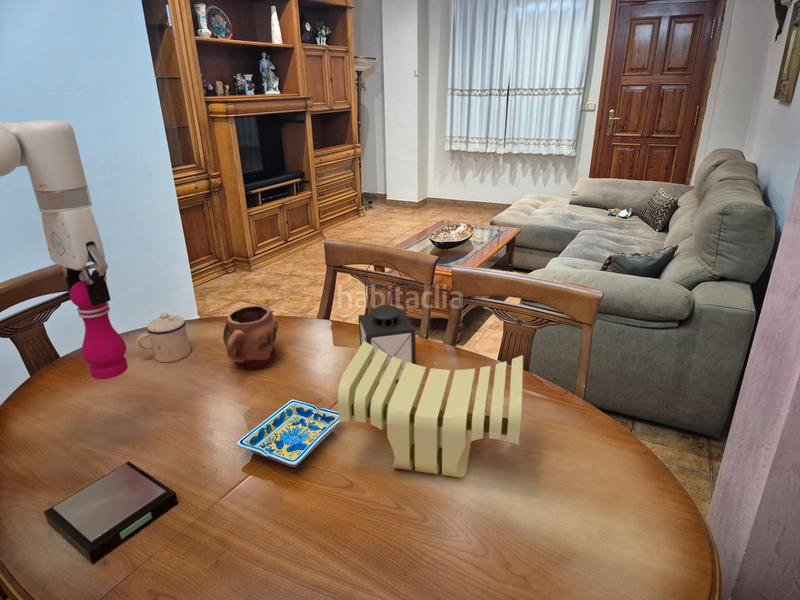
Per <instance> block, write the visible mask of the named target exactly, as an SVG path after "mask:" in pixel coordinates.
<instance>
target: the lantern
mask: <svg viewBox="0 0 800 600" xmlns="http://www.w3.org/2000/svg"><path fill="white" fill-rule="evenodd" d="M377 262H381V263H382V262H383V263H386V264H388V265H391V266H392V267H393V268H394V269H395V270H396V271H397V272H398V274H399V277H400V279H401V283H402V287H403V289H402V290H403V298H404V302H403V303H404V309H399V307H397V306H394V305H390V304H381V305H378V306H376V307H374V308H373V309H371V310H370V312H369V308H368V297H367V273H368V270H369V268H370V267H371V265H372V264H374V263H377ZM405 289H406V288H405V284H404V279H403V277H402V274H401V272H400V271H399V269H398V268H397V267H396V266H395V265H394V264H393V263H390V261H389V262H388V261H385V260H374V261H373V262H371V263H370V264H369V265H368V266H367V268H366V271H365V275H364V293H365V294H364V295H365V303H366V314H358V315H357V316H358V332H359V345H360V346H361V345H362V343H363V342H364V341H365V342H367V343H369V344H370V345H372V346H374V355H373V357H372V359H371V361H372V360H373V358H374V356H375V354H376V352H377V351H378V349H379V350H381V351H383V352H385V353H387V354H388V361H387V363H386V365H385V368H384V370H383V372H382V374H381V377H380V379H379V382H378V385H379V383H380V381H381V379H382V377H383V375H384V372H385V370H386V368H387V366H388V364H389V362H390V360H391V358H392V356H394V357H396V358H398V359H401V360H402V367H401V370H400V372H399V375H398V377H397V380H396V383H395V384H397V383H398V381H399V379H400V377H401V374H402V372H403V370H404V367H405V365H406V363H407V362H409V363H412V364H416V362H417V361H416V360H417V359H416V328H415V327H414V326H413V324H412V323H411V321H410V320H409V318H408V316H407V308H406V307H407V305H406V290H405ZM360 346H359V347H360ZM371 361H370V363H371ZM370 363H369V365H370ZM369 365H368V367H369ZM416 365H417V364H416ZM368 367H367V368H368ZM366 370H367V369H366ZM365 372H366V371H365ZM378 385H377V387H378Z"/></svg>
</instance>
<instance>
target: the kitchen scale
mask: <svg viewBox="0 0 800 600" xmlns="http://www.w3.org/2000/svg"><path fill="white" fill-rule="evenodd" d="M178 504H179V501H178V497H177V493H176V491H174V490H173V489H171V488H169V487H168V486H167V485H166V484H164V483H163V482H161V481H159V480H158V479H156V478H155V477H154V476H152V475H150V474H149V473H147V472H146V471H144V470H143V469H141V468H140V467H138V466H137V465H136V464H134V463H132V462H131V461H127V462H125V463H123V464H121V465H120V466H118V467H116V468H115V469H113V470H111V471H110V472H108V473H107V474H105V475H103V476H101V477H100V478H98V479H96V480H95V481H93V482H91V483H90V484H88V485H86V486H84V487H82V488H81V489H79V490H78V491H76V492H74V493H73V494H70V495H69V496H68V497H66V498H64V499H62V500H61V501H59V502H57V503H56V504H53V506H50V507H49V508H47V509H46V510H44V511H43V515H44V517H45V519H46V522H47V524H48V525H49V526H51V528H53V529H54V531H56V533H58V534H59V535H60V536H61V537H62V538H64V540H66V541H67V543H69V544H70V545H71V546H72V547H73V548H74V549H75V550H77V552H78V553H80V555H82V556H83V557H84V558H85V559H86V560H87V561H89V563H90V564H91V565H94V564H95V563H97V562H98V561H100V560H101V559H102V558H104V557H105V556H107V555H108V554H109V553H111V552H112V551H113V550H115V549H116V548H118V547H119V546H121V545H122V544H124V543H125V542H127V540H129V539H130V538H132V537H133V536H135V535H136V534H137V533H139V532H140V531H142V530H143V529H145V528H146V527H147V526H149V525H150V524H152V523H153V522H155V521H156V520H157V519H158V518H160V517H161V516H163V515H164V514H165V513H167V512H169V511H170V510H172V509H173V508H174V507H176V506H177V505H178Z"/></svg>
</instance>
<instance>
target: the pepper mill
mask: <svg viewBox="0 0 800 600" xmlns="http://www.w3.org/2000/svg"><path fill="white" fill-rule="evenodd" d="M79 278H80V280H81V281H79V282H77V283H75V284H74V285H73V286H72V288H71V290H70V292H69V298H70V302H71V303H72V304H74V305H75V306H76V307H77V308H76V311H77V312H78V315H77V316H78V317H79V318H82V319H81V320H83V321H82V322H83V323H84V337H83V341H82V345H81V354H82V359H83V360H84V361H85V363H87V364H89V367H88V369H89V373H90V376H91V377H92V378H93V379H95V380H107V379H112V378H116V377H119V376H121V375H122V374H124V373H125V372H126V371H127V370H128V368H129V365H128V360H127V358H126V357H125V354H126V353H127V346H126V345H127V344H126V342H125V340H124V339H123V337H122V336H121V334H120V333H118V331H116V329H115V328H114V327H113V325H112V324H111V321H110V317H109V312H110V310H111V308H110V306H109V305H110V304H109V301H108V302H105V303H102V304H99V305H96V306H92V305H91V304H90V300H89V296H88V293H87V289H86V284H88V283H87V281H86V278H85V276H84V274H83V272H81V274H80V275H79ZM108 291H109V289H108ZM109 292H110V291H109Z"/></svg>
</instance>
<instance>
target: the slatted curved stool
mask: <svg viewBox="0 0 800 600" xmlns="http://www.w3.org/2000/svg"><path fill="white" fill-rule="evenodd" d="M373 355H374V346H372V345H370V344H369V343H367V342H365V341H364V342H363V343H362V345H361V346H359V348H358V349H357V351H356V353H355V355H354V356H353V357H352V359H351V360H350V362H349V363H348V365H347V367H346V368H345V370H344V371H343V373H342V374H341V378H340V381H339V384H338V390H337V411H338V421H339V423H344V422H351V420H352V418H353V417H354V422H357V423H364V424H366V422H367V421H368V418H369V419H370V425H372V426H374V427H376V428H377V429H379V430H380V431H383V428H384V427H385V424H386V438H387V440H388V441H389V444H390V446H391V449H392V452H393V455H394V456H393V457H394V460H393V464H392V467H393V468H394V469H398V470H399V469H400V470H407V471H413V469H414V470H415V472H421V473H426V474H427V473H428V474H435V475H438V474H439V472H440V469H441V474H442V476H448V477H454V478H464V477H465V476H466V473H467V469H468V463H469V457H470V449H471V445H472V442H474V441H476V440H481V439H484V435H485V434H484V433H488V439H493V440H499V441H500V440H502V435H505V436H506V442H508V443H511V444H512V443H513V444H514V445H517V446H519V444H520V433H521V421H522V404H523V378H524V377H523V375H524V373H523V372H524V371H523V370H524V354H522V355H519V356H517V357H514V358H512V359H511V368H510V385H509V386H510V387H509V399H508V415H507V417H503V416H504V415H503V413H504V400H505V387H506V375H507V360H505V361H502V362H499V363H495V369H494V376H493V377H494V379H493V388H492V394H491V395H492V396H491V405H490V412H489V413H490V414H489V415H487V406H488V398H489V397H488V396H489V390H490V389H489V388H490V379H491V367H492V365H486V366H481V367H480V369H479V373H478V380H477V386H476V392H475V398H474V404H473V409H472V413H470V412H471V404H472V398H473V391H474V387H475V381H476V368H468V369H467V368H466V369H455V370H454V373H453V377H452V381H451V386H450V389H449V393H448V398H447V401H446V405H445V400H446V399H445V398H446V394H447V389H448V386H449V381H450V378H451V370H450V369H440V368H433V367H431V368H430V369H429V373H428V375H427V378H426V381H425V384H424V387H423V383H424V380H425V377H426V374H427V367H426V366H423V365H419V364H412V363H409V362H407V363H406V365H405V367H404V370H403V372H402V374H401V377H400V379H399V381H398V383H396V380H397V377H398V375H399V372H400V370H401V367H402V360H401V359H398V358H396V357H394V356H392V358H391V360H390V362H389V364H388V366H387V368H386V370H385V372H384V375H383V377H382V379H381V381H380V383H379V385H378V382H379V379H380V377H381V374H382V372H383V370H384V368H385V365H386V363H387V361H388V354H387V353H385V352H383V351H381V350H379V349H378V351H377V352H376V354H375V356H374V358H373V360H372V361H371V359H372V357H373ZM370 361H371V363H370ZM369 363H370V365H369ZM368 365H369V367H368ZM367 367H368V368H367ZM366 369H367V370H366ZM365 371H366V372H365ZM377 385H378V386H377ZM395 385H396V386H395ZM422 387H423V390H422V393H421V389H422ZM420 393H421V396H420ZM419 396H420V397H419ZM419 398H420V399H419ZM418 400H419V401H418ZM444 405H445V408H444ZM443 409H444V410H443Z"/></svg>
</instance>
